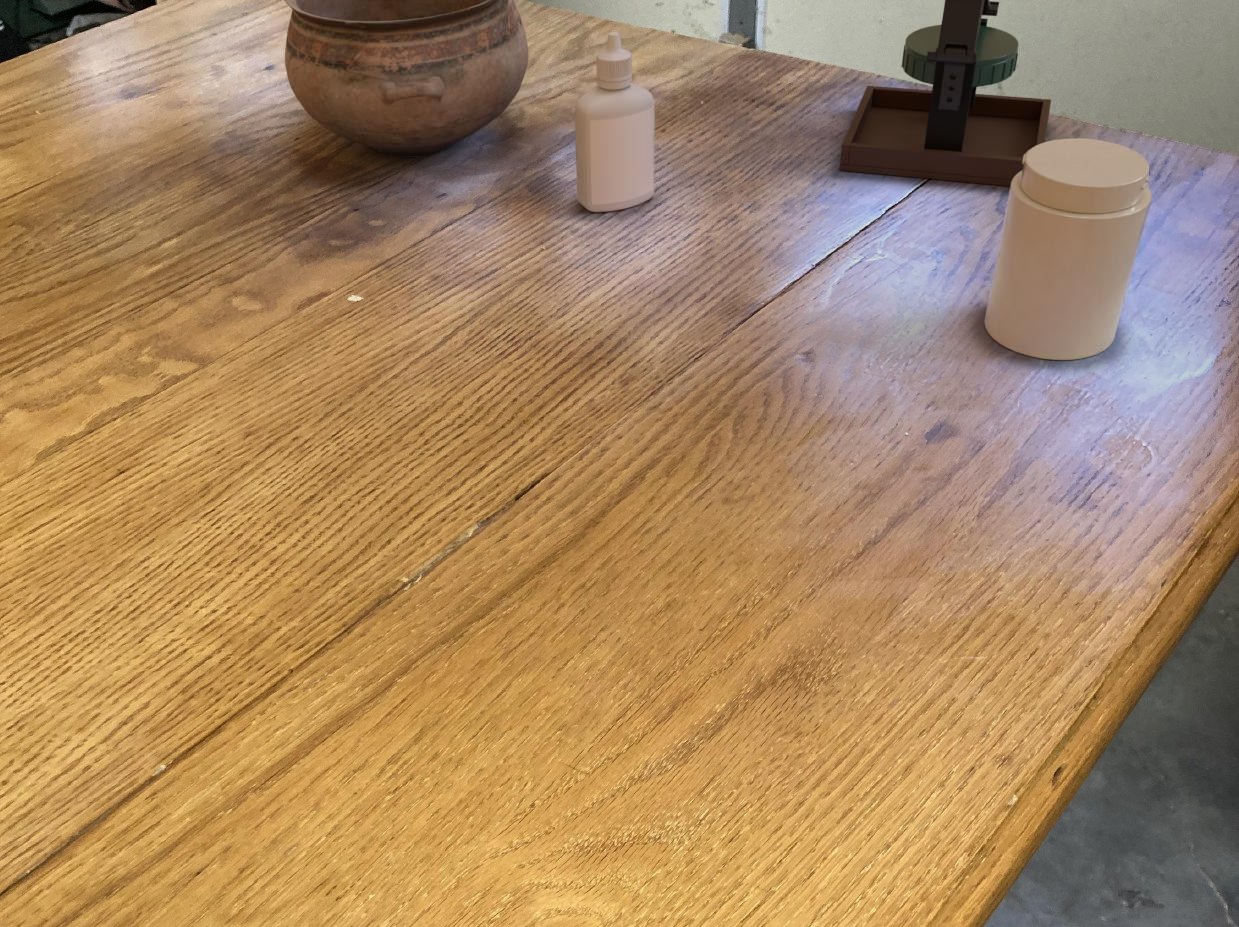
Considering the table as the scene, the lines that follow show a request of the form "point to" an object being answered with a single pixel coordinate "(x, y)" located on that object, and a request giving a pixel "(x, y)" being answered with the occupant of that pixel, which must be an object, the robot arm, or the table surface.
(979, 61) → the jar lid
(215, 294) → the table surface
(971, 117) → the tray
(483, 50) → the cooking pot
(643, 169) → the eye dropper bottle
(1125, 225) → the jam jar
